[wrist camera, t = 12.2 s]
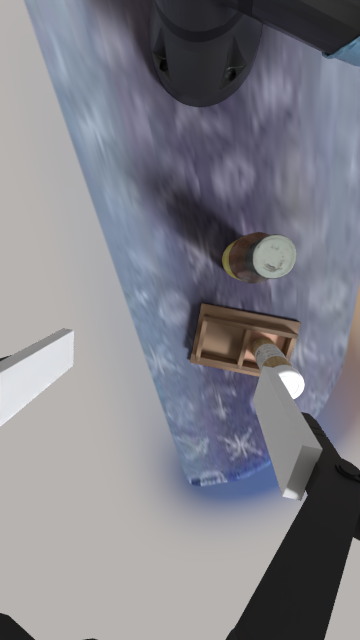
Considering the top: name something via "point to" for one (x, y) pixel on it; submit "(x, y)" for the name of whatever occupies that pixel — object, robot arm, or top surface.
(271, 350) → the sprinkles bottle
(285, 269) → the sauce bottle
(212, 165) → the top surface
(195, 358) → the slot rack
